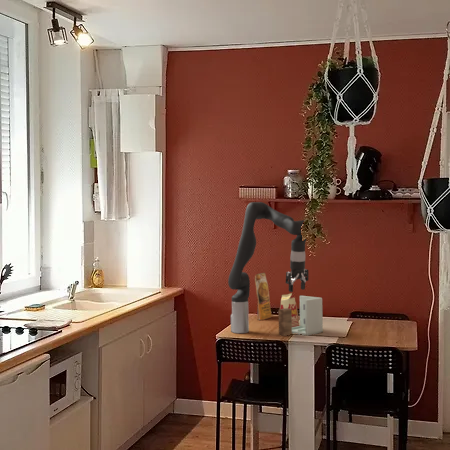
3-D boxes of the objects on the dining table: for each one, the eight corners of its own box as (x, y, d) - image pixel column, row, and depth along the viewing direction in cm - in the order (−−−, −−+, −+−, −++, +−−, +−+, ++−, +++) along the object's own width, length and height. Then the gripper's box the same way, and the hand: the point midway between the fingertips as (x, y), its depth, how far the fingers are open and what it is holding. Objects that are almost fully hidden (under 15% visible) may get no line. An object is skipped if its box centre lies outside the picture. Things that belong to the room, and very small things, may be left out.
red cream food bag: (299, 327, 410) (299, 292, 410) (289, 329, 404) (289, 294, 403) (287, 325, 417) (286, 291, 416) (277, 327, 410) (276, 293, 409)
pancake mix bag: (251, 320, 437) (250, 274, 436) (265, 315, 453) (264, 271, 452) (261, 321, 433) (260, 275, 432) (274, 316, 450) (274, 271, 449)
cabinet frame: (286, 332, 395) (285, 298, 395) (301, 329, 404) (301, 295, 404) (307, 335, 384) (306, 300, 384) (322, 332, 393) (322, 297, 393)
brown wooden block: (278, 335, 387) (278, 309, 387) (286, 333, 391) (285, 308, 391) (284, 336, 384) (284, 310, 384) (291, 334, 389) (291, 308, 388)
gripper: (302, 256, 372) (301, 287, 374) (282, 259, 363) (281, 291, 365) (312, 259, 366) (311, 290, 368) (293, 262, 357) (292, 294, 359)
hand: (296, 290), depth 367 cm, fingers open, 8 cm apart
